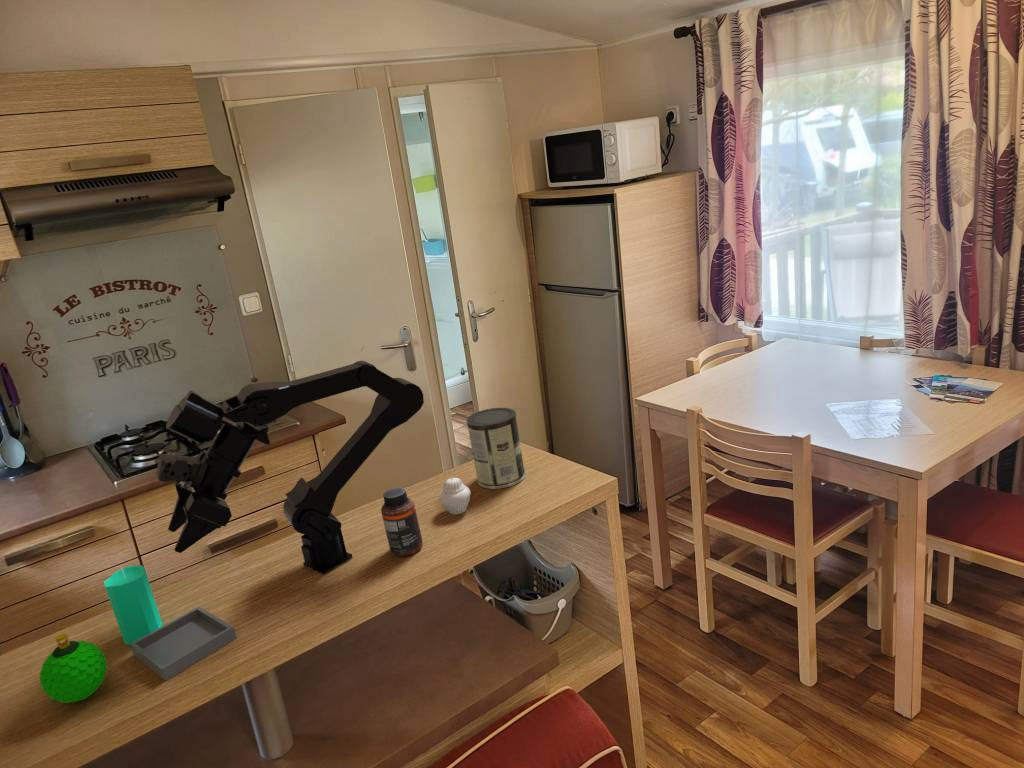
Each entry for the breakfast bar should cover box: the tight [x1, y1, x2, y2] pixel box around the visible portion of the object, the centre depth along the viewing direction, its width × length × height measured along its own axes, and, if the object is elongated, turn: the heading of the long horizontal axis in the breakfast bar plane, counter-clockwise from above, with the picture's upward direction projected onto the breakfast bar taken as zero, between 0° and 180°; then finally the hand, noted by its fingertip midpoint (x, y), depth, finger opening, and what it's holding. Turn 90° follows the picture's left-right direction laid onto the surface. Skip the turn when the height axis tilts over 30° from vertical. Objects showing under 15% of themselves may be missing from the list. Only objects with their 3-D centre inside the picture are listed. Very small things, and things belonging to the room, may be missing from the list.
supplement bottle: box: [380, 487, 424, 557], centre depth 132 cm, size 6×6×11 cm
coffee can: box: [465, 407, 526, 490], centre depth 155 cm, size 10×10×14 cm
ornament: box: [39, 632, 108, 704], centre depth 104 cm, size 8×8×10 cm
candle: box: [103, 565, 164, 645], centre depth 118 cm, size 6×6×12 cm
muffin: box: [438, 477, 471, 516], centre depth 144 cm, size 6×6×7 cm
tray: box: [129, 605, 237, 682], centre depth 114 cm, size 11×11×2 cm
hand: (173, 541), depth 119 cm, fingers open, 9 cm apart
